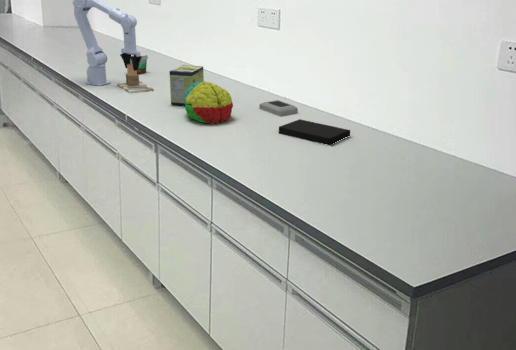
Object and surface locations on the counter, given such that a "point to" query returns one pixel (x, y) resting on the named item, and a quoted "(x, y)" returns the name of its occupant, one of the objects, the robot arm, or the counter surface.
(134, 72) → the terracotta block
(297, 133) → the black microchip
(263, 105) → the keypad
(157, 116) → the counter surface
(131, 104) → the counter surface
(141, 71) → the food container
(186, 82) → the protein box
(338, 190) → the counter surface
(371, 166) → the counter surface
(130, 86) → the baseplate
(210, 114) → the brain model
